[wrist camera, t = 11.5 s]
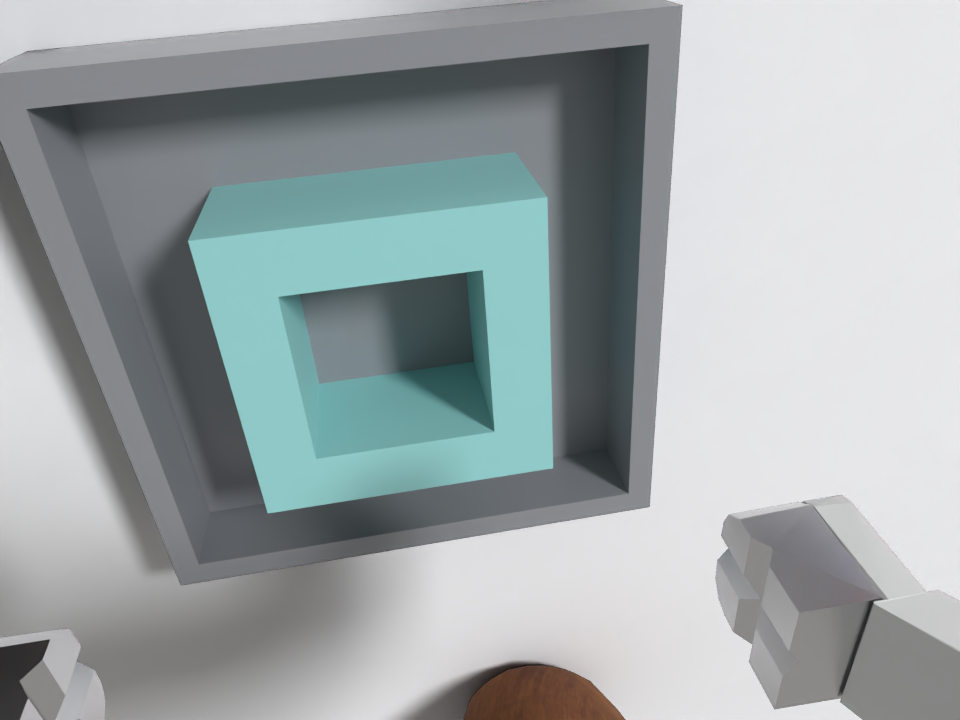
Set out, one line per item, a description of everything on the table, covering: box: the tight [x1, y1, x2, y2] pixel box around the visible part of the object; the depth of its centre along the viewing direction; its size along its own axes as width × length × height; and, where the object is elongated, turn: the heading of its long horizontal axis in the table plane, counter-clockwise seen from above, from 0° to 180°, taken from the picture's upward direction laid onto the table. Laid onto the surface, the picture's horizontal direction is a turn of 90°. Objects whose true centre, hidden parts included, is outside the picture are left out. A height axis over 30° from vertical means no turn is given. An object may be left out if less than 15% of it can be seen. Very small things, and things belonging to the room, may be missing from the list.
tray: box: [0, 0, 683, 585], centre depth 17 cm, size 12×12×2 cm
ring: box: [188, 152, 553, 513], centre depth 17 cm, size 6×6×3 cm
